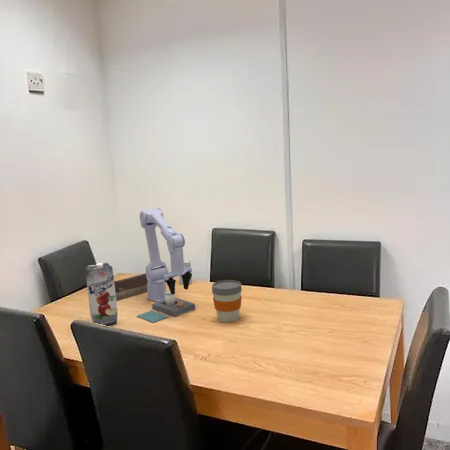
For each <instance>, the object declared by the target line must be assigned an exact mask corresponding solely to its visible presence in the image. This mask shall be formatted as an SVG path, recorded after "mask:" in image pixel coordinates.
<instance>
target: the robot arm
mask: <svg viewBox="0 0 450 450" xmlns="http://www.w3.org/2000/svg"><path fill="white" fill-rule="evenodd" d="M139 221H140V227H141V228H142V229H144V233H145V238H146V244H147V249H148V255H149V263H148V264H147V265H146V267H145V273H146V278H147V280H148V283H147V292H146V293H147V296H146V297H145V298H146V299H148V300H151V301H153V302H155V303H156V302H159V301H162V300H165V291H167V287H168V290H170V292H171V294H176V282H177V280H176V279H174V278H177V277H179V276H180V275H181V276H182V279H183V284H182V286H183V289H184V290H189V285H190V284H189V282H190V279H191V277H192V278H193V273H192V272H193V269H192V267H191V268H189V267H188V268H184V261H185V259H184V247H185V245H186V240H185V237H184V235H183V234H182V233H180V232H179V233H178V232H177V231H176V230H175V229H174V227H173V226H172V225H171V224H168V223H167V222H166V220H165V218H164V212H163V210H162V209H161V208H160V207H158V208H150V209H142V210H140V212H139ZM156 227H158V228H159V229H160V234H161V235H162V237H163V238H164V239H165V240H166V245H167V248H168V252H169V257H170V269H171V270H170V272H169V269H168V267H167V263H166V262H164V261H162V260H161V254H160V248H159V243H158V238H157V232H156Z"/></svg>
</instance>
